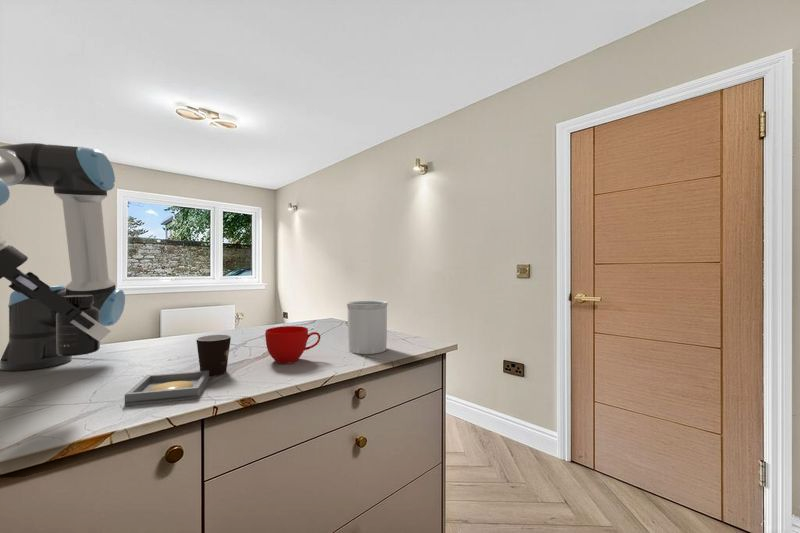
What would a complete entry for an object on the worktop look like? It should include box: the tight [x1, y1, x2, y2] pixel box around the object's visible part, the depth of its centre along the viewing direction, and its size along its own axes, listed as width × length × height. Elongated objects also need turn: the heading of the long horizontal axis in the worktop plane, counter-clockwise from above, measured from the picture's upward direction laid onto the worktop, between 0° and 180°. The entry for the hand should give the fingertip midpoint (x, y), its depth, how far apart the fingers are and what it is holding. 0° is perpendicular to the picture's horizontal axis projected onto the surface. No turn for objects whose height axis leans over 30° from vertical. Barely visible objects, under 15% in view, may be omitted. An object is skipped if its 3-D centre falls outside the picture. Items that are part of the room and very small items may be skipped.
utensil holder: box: [346, 299, 389, 355], centre depth 129 cm, size 15×15×18 cm
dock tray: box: [124, 370, 210, 407], centre depth 85 cm, size 14×14×2 cm
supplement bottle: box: [56, 295, 101, 357], centre depth 74 cm, size 7×7×12 cm
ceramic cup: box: [265, 325, 321, 364], centre depth 114 cm, size 13×17×10 cm
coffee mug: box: [195, 334, 232, 378], centre depth 101 cm, size 12×9×10 cm
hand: (100, 333), depth 77 cm, fingers closed on supplement bottle, 7 cm apart
